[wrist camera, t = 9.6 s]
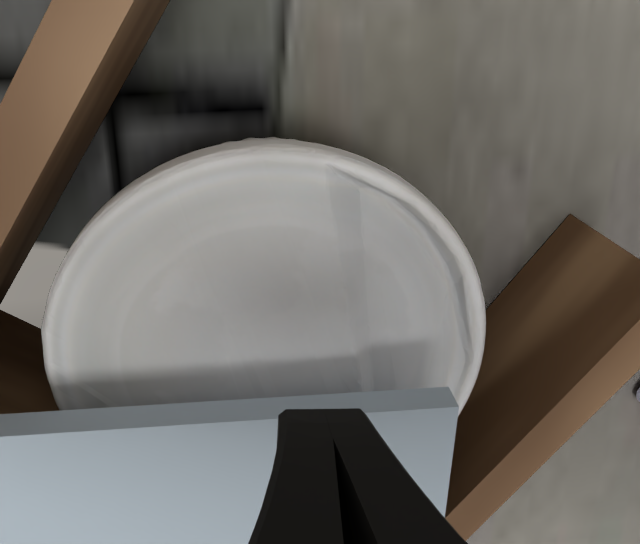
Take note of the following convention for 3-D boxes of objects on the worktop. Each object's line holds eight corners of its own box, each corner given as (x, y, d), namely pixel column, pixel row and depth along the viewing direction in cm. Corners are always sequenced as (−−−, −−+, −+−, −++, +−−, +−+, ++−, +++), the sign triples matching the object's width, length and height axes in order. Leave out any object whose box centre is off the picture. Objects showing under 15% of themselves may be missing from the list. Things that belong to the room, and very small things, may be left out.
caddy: (593, 232, 20) (703, 305, 15) (350, 503, 24) (375, 629, 19) (166, -99, 15) (125, -149, 10) (-55, 319, 19) (-161, 429, 14)
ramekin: (493, 282, 21) (567, 365, 16) (261, 460, 23) (264, 581, 18) (279, 21, 16) (291, 28, 12) (19, 271, 19) (-60, 364, 14)
